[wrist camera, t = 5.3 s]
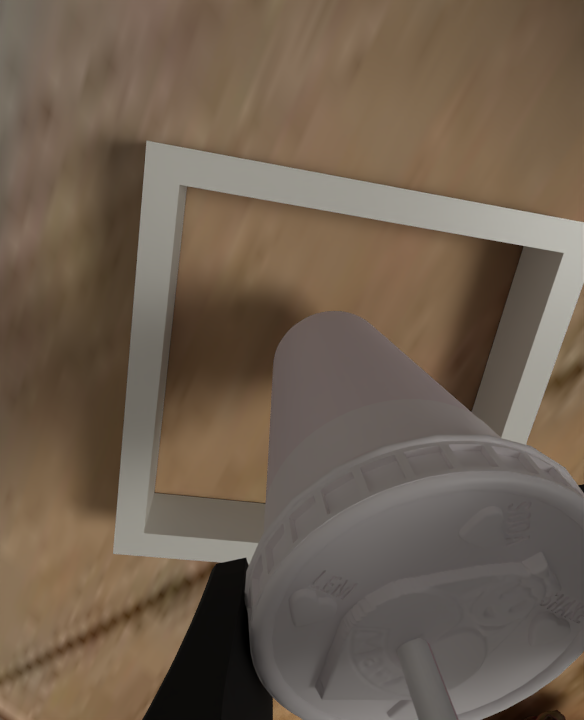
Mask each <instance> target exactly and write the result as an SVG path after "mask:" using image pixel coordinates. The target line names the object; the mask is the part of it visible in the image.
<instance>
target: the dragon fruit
mask: <svg viewBox="0 0 584 720" xmlns="http://www.w3.org/2000/svg"><path fill="white" fill-rule="evenodd" d="M525 720H565V717H564V715H562V714H561V713H560V712H559V711H558V710H555V711H548V712H544V713H542V714H540V715H539V716H538V717H537V716H530V717H528V718H526V719H525Z"/></svg>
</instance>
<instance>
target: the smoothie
mask: <svg viewBox="0 0 584 720" xmlns="http://www.w3.org/2000/svg"><path fill="white" fill-rule="evenodd" d="M244 601H245V605H246V609H247V612H248V623H249V640H250V651H251V657H252V661H253V665H254V668H255V670H256V673H257V675H258V677H259V679H260V681H261V682H262V684H263V686H264V687H265V688H266V690H267V691H268V692H269V693H270V695H271V696H272V697H273V698H274V699H275V700H276V701H277V702H278V703H279V704H281V705H282V706H283V707H285V708H286V709H287V710H289V711H290V712H291V713H293V714H295V715H297V716H298V717H300V718H301V719H303V720H482V719H484V718H487V717H489V716H491V715H494V714H496V713H498V712H501V711H503V710H506V709H507V708H509V707H511V706H513V705H515V704H516V703H518V702H520V701H522V700H524V699H525V698H527V697H529V696H531V695H533V694H534V693H536V692H537V691H538V690H540V689H541V688H542V687H544V686H545V685H547V684H548V683H549V682H551V681H552V680H554V679H555V678H556V677H558V676H559V675H560V674H561V673H562V672H563V671H564V670H565V669H566V668H567V667H568V666H570V665H571V664H572V663H573V662H574V661H575V660H576V659H577V658H578V657H579V656H580V655H581V654H582V653H583V651H584V493H583V491H582V490H581V489H580V487H579V486H578V485H577V483H576V482H575V481H574V479H573V478H572V477H571V475H570V474H569V473H568V471H567V470H566V469H565V467H563V466H561V465H560V464H558V463H557V462H555V461H554V460H552V459H550V458H549V457H547V456H546V455H544V454H542V453H541V452H539V451H538V450H536V449H535V448H533V447H531V446H529V445H525V444H521V443H517V442H514V441H510V440H506V439H502V438H501V437H500V436H499V435H497V434H496V433H495V432H494V431H493V430H492V429H491V428H490V427H489V426H488V425H486V424H485V423H484V422H483V421H482V420H480V419H479V418H478V417H476V416H475V415H474V414H473V413H472V412H471V411H470V410H468V409H467V408H466V407H465V406H464V405H463V404H462V403H460V402H459V401H458V400H457V399H456V398H455V397H454V396H452V395H451V394H450V393H449V392H448V391H447V390H445V389H444V388H443V387H442V386H441V385H440V384H439V383H437V382H436V381H435V380H434V379H433V378H432V377H431V376H429V375H428V374H427V373H426V372H425V371H424V370H423V369H421V368H420V367H419V366H418V365H417V364H416V363H415V362H413V361H412V360H411V359H410V358H409V357H408V356H407V355H405V354H404V353H403V352H402V351H401V350H400V349H399V348H397V347H396V346H395V345H394V344H393V343H392V342H391V341H389V340H388V339H387V338H386V337H385V336H384V335H383V334H381V333H380V332H379V331H378V330H377V329H376V328H375V327H373V326H372V325H371V324H370V323H369V322H367V321H366V320H365V319H363V318H361V317H359V316H357V315H354V314H351V313H348V312H342V311H327V312H321V313H317V314H314V315H311V316H309V317H307V318H305V319H303V320H301V321H300V322H298V323H297V324H295V325H294V326H293V327H292V328H291V329H290V330H289V331H288V332H287V333H286V334H285V335H284V337H283V338H282V340H281V341H280V343H279V345H278V347H277V349H276V352H275V356H274V361H273V379H272V397H271V416H270V434H269V453H268V471H267V490H266V504H265V515H264V533H263V534H262V537H261V539H260V541H259V543H258V546H257V548H256V550H255V553H254V555H253V557H252V560H251V562H250V564H249V566H248V569H247V571H246V582H245V596H244Z"/></svg>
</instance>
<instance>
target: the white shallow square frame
mask: <svg viewBox="0 0 584 720" xmlns="http://www.w3.org/2000/svg"><path fill="white" fill-rule="evenodd" d="M187 186H189V187H195V188H201V189H206V190H212V191H218V192H223V193H229V194H234V195H240V196H246V197H251V198H257V199H263V200H268V201H274V202H279V203H285V204H291V205H296V206H302V207H308V208H313V209H319V210H325V211H330V212H336V213H341V214H347V215H353V216H358V217H364V218H370V219H375V220H381V221H387V222H392V223H398V224H403V225H409V226H415V227H420V228H426V229H432V230H437V231H443V232H449V233H454V234H460V235H465V236H471V237H477V238H482V239H488V240H494V241H499V242H505V243H511V244H516V245H522V246H524V247H523V250H522V253H521V256H520V259H519V263H518V266H517V269H516V272H515V275H514V279H513V282H512V285H511V288H510V291H509V294H508V298H507V301H506V304H505V307H504V310H503V314H502V317H501V320H500V323H499V326H498V330H497V333H496V336H495V339H494V342H493V345H492V349H491V352H490V355H489V358H488V361H487V365H486V368H485V371H484V374H483V377H482V380H481V384H480V387H479V390H478V393H477V396H476V400H475V403H474V406H473V409H472V413H473V414H474V415H475V416H476V417H478V418H479V419H480V420H482V421H483V422H484V423H485V424H486V425H488V426H489V427H490V428H491V429H492V430H493V431H494V432H495V433H496V434H497V435H499V436H500V437H501V438H502V439H506V440H510V441H514V442H517V443H521V444H525V445H526V442H527V440H528V437H529V434H530V431H531V428H532V426H533V423H534V420H535V417H536V414H537V412H538V409H539V406H540V403H541V400H542V398H543V395H544V392H545V389H546V386H547V384H548V381H549V378H550V375H551V373H552V370H553V367H554V364H555V361H556V359H557V356H558V353H559V350H560V347H561V345H562V342H563V339H564V336H565V333H566V331H567V328H568V325H569V322H570V319H571V317H572V314H573V311H574V308H575V306H576V303H577V300H578V297H579V294H580V292H581V289H582V286H583V283H584V222H578V221H573V220H568V219H562V218H557V217H552V216H546V215H541V214H536V213H530V212H525V211H520V210H514V209H509V208H504V207H498V206H493V205H488V204H482V203H477V202H471V201H466V200H461V199H455V198H450V197H445V196H439V195H434V194H429V193H423V192H418V191H413V190H407V189H402V188H397V187H391V186H386V185H381V184H375V183H370V182H365V181H359V180H354V179H349V178H343V177H338V176H333V175H327V174H322V173H317V172H311V171H306V170H301V169H295V168H290V167H285V166H279V165H274V164H269V163H263V162H258V161H253V160H247V159H242V158H237V157H231V156H226V155H221V154H215V153H210V152H205V151H199V150H194V149H188V148H183V147H178V146H172V145H167V144H162V143H156V142H151V141H147V142H146V155H145V167H144V179H143V192H142V204H141V216H140V229H139V241H138V253H137V266H136V278H135V290H134V303H133V315H132V327H131V340H130V352H129V364H128V377H127V389H126V401H125V414H124V426H123V438H122V451H121V463H120V476H119V488H118V500H117V513H116V525H115V537H114V550H113V554H123V555H135V556H148V557H160V558H173V559H185V560H197V561H210V562H222V563H223V562H227V561H232V560H237V559H241V558H246V559H247V562H248V565H249V564H250V562H251V560H252V557H253V555H254V553H255V550H256V548H257V546H258V543H259V541H260V539H261V537H262V534H263V533H264V515H265V504H263V503H253V502H243V501H232V500H222V499H212V498H201V497H191V496H181V495H170V494H160V493H154V491H155V482H156V473H157V463H158V454H159V444H160V435H161V426H162V416H163V407H164V398H165V388H166V379H167V369H168V360H169V351H170V341H171V332H172V323H173V313H174V304H175V295H176V285H177V276H178V266H179V257H180V248H181V238H182V229H183V220H184V210H185V201H186V191H187Z"/></svg>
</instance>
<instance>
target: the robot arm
mask: <svg viewBox="0 0 584 720" xmlns="http://www.w3.org/2000/svg"><path fill="white" fill-rule="evenodd" d="M578 486H579V487H580V489H581V490H582V491H583V493H584V484H583V485H578ZM247 569H248V562H247V559H246V558H241V559H237V560H232V561H227V562H223V563H218V564H216V565H215V566H214V568H213V569H212V571H211V574H210V577H209V580H208V582H207V585H206V588H205V590H204V593H203V596H202V598H201V601H200V603H199V605H198V608H197V610H196V613H195V615H194V617H193V620H192V622H191V624H190V626H189V629H188V631H187V633H186V635H185V637H184V639H183V642H182V644H181V646H180V648H179V650H178V652H177V655H176V657H175V659H174V661H173V663H172V665H171V667H170V669H169V671H168V673H167V675H166V677H165V678H164V680H163V682H162V684H161V686H160V688H159V690H158V692H157V694H156V696H155V698H154V699H153V701H152V703H151V705H150V707H149V709H148V711H147V712H146V714H145V716H144V718H143V719H142V720H273V697H272V696H271V695H270V693H269V692H268V691H267V690H266V688H265V687H264V686H263V684H262V682H261V681H260V679H259V677H258V675H257V673H256V670H255V668H254V665H253V661H252V657H251V651H250V640H249V623H248V612H247V609H246V605H245V601H244V596H245V582H246V571H247Z"/></svg>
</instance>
